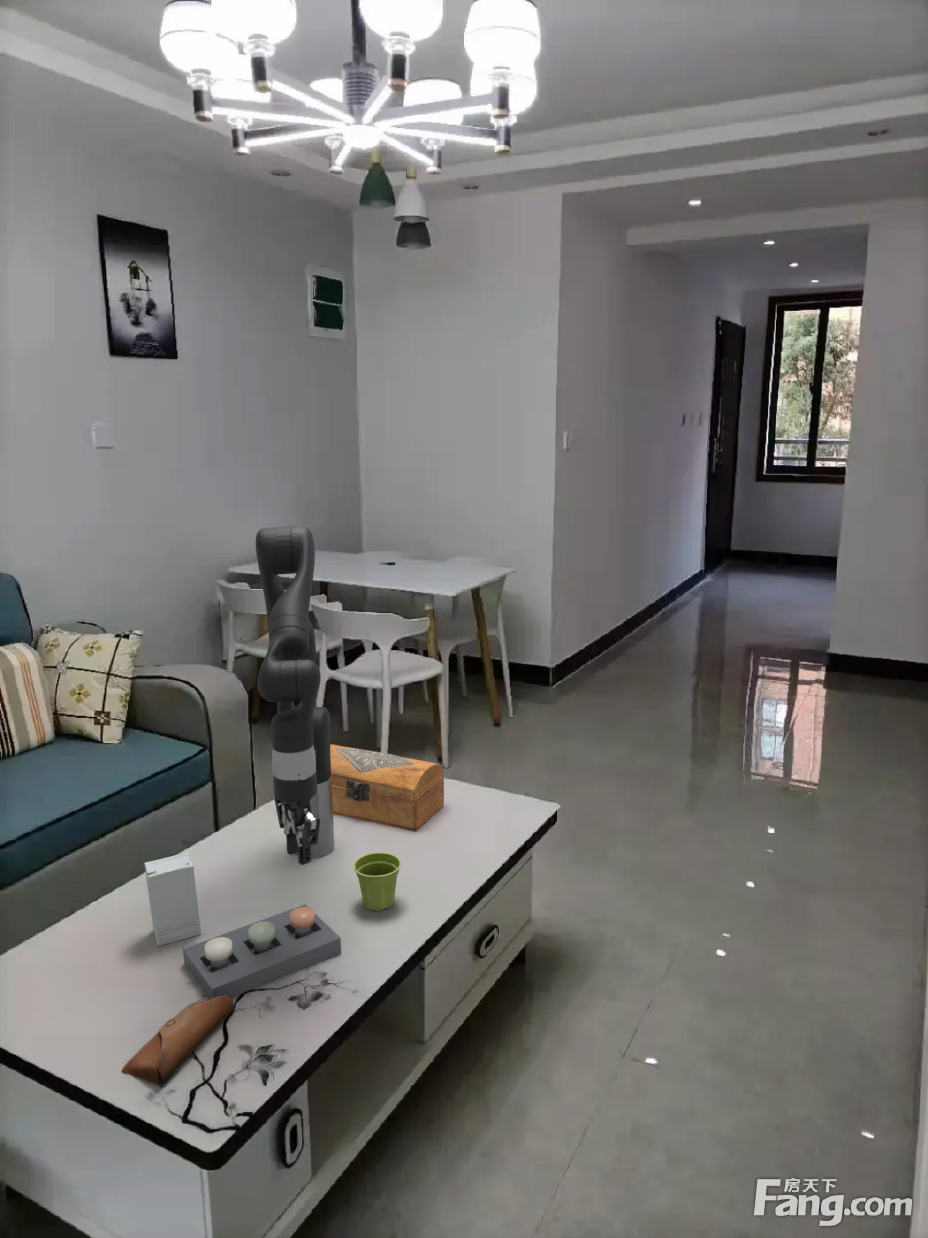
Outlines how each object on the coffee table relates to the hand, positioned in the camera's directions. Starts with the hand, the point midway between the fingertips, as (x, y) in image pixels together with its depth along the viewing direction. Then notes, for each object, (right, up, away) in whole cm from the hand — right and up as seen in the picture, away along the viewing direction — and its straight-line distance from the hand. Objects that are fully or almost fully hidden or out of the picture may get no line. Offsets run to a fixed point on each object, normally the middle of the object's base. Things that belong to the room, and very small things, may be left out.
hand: (299, 857), depth 160 cm
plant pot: (+13, -14, +17) cm, 25 cm away
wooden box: (+8, -4, +58) cm, 59 cm away
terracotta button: (0, -15, +4) cm, 16 cm away
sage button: (-6, -16, -1) cm, 18 cm away
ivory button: (-13, -18, -6) cm, 22 cm away
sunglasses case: (-15, -24, -21) cm, 35 cm away
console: (-6, -18, -1) cm, 19 cm away
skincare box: (-25, -16, +7) cm, 30 cm away
